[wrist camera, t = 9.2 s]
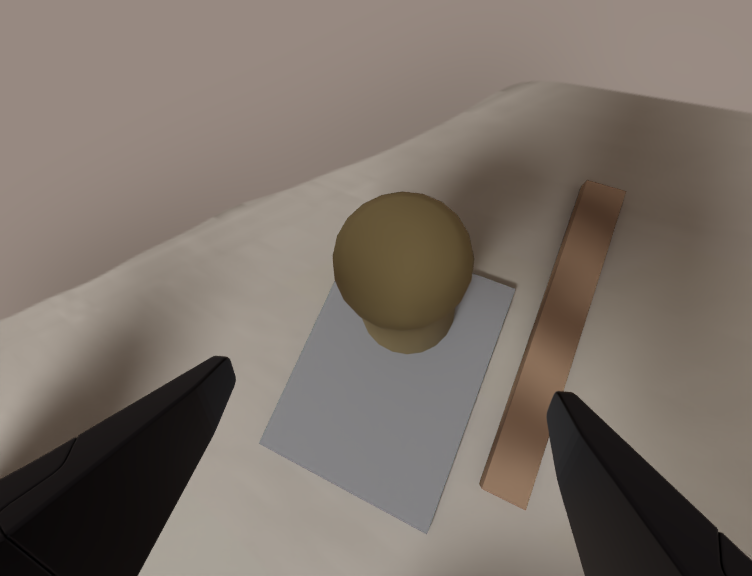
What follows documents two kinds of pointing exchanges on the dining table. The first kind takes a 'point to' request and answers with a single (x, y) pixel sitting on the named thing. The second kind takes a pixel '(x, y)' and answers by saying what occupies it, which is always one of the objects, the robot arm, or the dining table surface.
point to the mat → (386, 403)
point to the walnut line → (552, 345)
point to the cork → (404, 269)
